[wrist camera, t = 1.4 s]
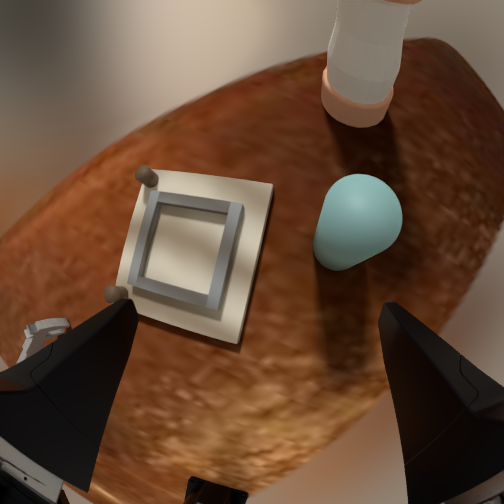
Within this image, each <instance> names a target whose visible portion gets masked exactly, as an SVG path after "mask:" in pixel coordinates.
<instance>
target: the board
mask: <svg viewBox="0 0 504 504" xmlns="http://www.w3.org/2000/svg"><path fill="white" fill-rule="evenodd" d="M135 177H136V179H137V180H138V181H140V182H141V183H142V187H141V190H140V193H139V196H138V199H137V203H136V206H135V209H134V213H133V216H132V220H131V223H130V227H129V231H128V234H127V238H126V242H125V246H124V250H123V254H122V258H121V263H120V267H119V272H118V276H117V281H116V286H112V285H109V286H107V287H106V288H105V289H104V298H105V300H106V301H107V302H108V303H115V302H116V301H118V300H119V299H121V298H130V299H132V300H133V301H134V304H135V307H136V310H137V313H139V314H142V315H144V316H147V317H150V318H153V319H156V320H159V321H162V322H165V323H168V324H171V325H174V326H177V327H180V328H183V329H186V330H189V331H193V332H196V333H199V334H202V335H206V336H209V337H213V338H216V339H220V340H223V341H227V342H230V343H234V344H238V343H239V341H240V336H241V332H242V328H243V323H244V319H245V315H246V310H247V306H248V301H249V297H250V293H251V288H252V284H253V280H254V275H255V271H256V266H257V262H258V257H259V253H260V249H261V244H262V240H263V235H264V231H265V226H266V222H267V217H268V213H269V208H270V204H271V199H272V195H273V190H274V187H273V184H268V183H262V182H255V181H248V180H242V179H235V178H227V177H220V176H212V175H203V174H195V173H186V172H176V171H165V170H154V169H150V168H149V167H148V166H146V165H143V166H140V167H139V168H138V169H137V170H136V173H135Z"/></svg>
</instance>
